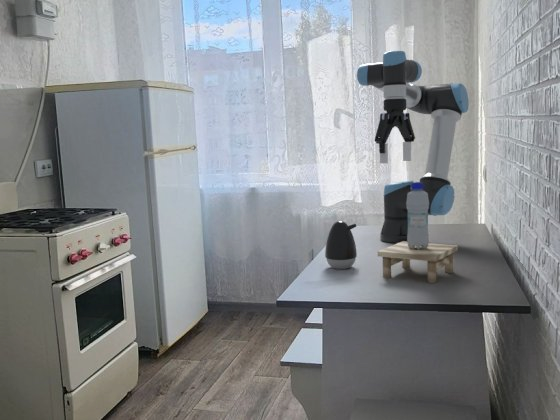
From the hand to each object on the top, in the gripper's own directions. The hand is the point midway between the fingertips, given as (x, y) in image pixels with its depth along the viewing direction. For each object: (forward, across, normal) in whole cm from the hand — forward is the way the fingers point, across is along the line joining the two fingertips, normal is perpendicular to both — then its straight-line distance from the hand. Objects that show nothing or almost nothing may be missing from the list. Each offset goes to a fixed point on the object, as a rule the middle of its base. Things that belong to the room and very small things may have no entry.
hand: (395, 162), depth 207 cm
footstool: (+33, +18, +20) cm, 42 cm away
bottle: (+25, +18, +20) cm, 37 cm away
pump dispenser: (+33, +24, -5) cm, 41 cm away
